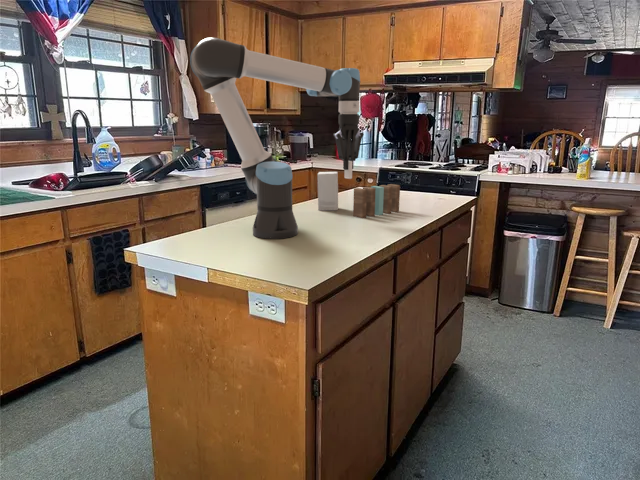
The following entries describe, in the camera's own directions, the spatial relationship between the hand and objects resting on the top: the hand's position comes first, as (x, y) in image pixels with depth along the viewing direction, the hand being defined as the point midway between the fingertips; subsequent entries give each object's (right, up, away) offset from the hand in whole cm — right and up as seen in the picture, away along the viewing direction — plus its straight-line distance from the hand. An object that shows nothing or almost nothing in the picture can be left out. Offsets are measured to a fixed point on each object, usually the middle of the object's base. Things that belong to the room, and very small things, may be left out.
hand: (348, 178), depth 179 cm
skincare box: (-7, -10, +22) cm, 26 cm away
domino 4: (+20, -11, +19) cm, 29 cm away
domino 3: (+16, -12, +16) cm, 25 cm away
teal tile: (+12, -13, +13) cm, 22 cm away
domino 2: (+9, -13, +10) cm, 19 cm away
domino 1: (+5, -14, +8) cm, 17 cm away
